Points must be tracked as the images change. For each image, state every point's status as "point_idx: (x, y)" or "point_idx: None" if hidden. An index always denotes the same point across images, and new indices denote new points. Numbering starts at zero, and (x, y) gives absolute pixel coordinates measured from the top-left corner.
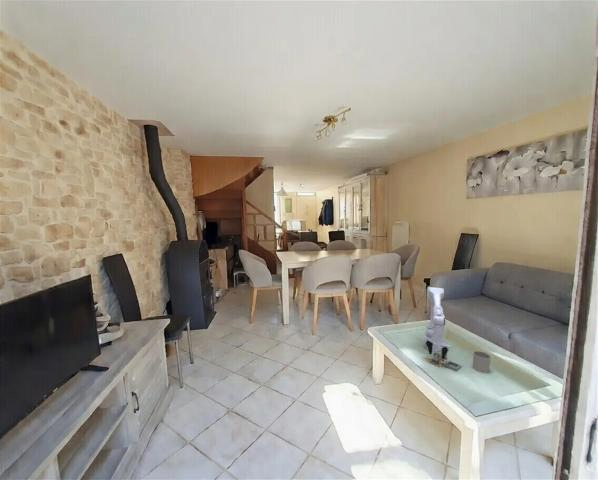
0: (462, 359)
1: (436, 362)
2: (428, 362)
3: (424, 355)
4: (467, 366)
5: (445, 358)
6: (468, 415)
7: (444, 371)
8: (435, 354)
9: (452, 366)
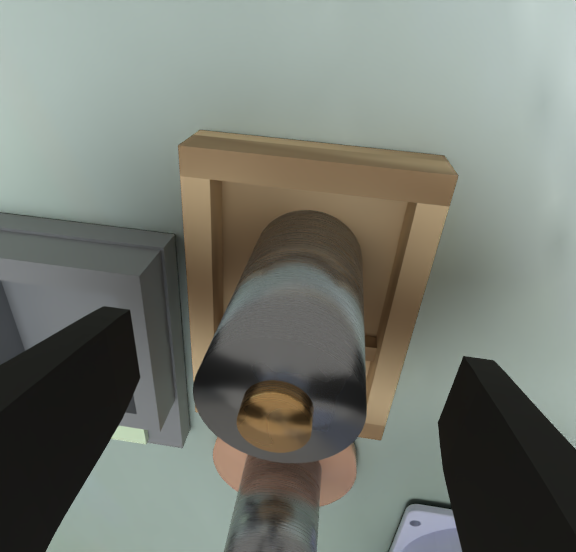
0: (159, 543)
1: (279, 235)
2: (439, 165)
3: (557, 409)
4: None
5: (249, 466)
6: None
7: (99, 108)
8: (302, 374)
9: None
